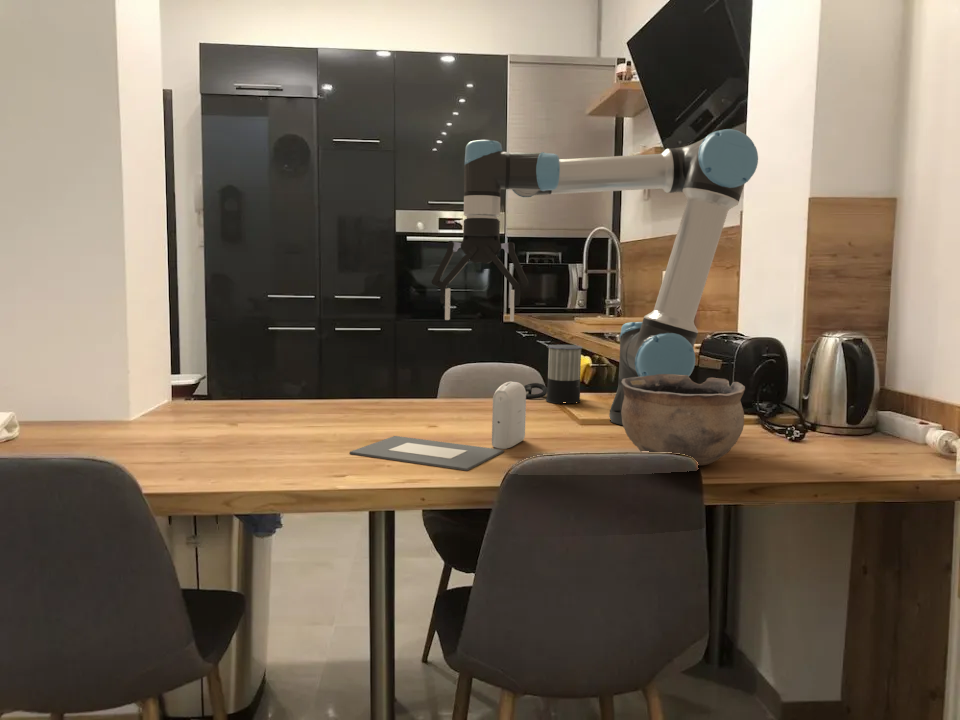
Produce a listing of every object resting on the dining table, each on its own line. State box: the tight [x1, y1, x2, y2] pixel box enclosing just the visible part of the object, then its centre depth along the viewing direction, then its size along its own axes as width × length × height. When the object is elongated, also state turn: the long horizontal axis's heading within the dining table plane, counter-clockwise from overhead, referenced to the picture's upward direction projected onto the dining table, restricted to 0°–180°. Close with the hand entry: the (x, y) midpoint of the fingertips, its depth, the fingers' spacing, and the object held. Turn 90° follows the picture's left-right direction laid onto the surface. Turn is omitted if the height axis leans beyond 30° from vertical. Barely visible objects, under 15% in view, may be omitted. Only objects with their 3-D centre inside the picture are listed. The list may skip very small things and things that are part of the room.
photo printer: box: [491, 381, 527, 450], centre depth 154 cm, size 10×4×12 cm, turn 157°
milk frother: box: [523, 344, 583, 405], centre depth 208 cm, size 14×16×15 cm
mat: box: [349, 435, 505, 471], centre depth 146 cm, size 24×16×1 cm, turn 65°
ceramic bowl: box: [621, 374, 746, 466], centre depth 142 cm, size 22×22×15 cm
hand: (479, 320), depth 164 cm, fingers open, 13 cm apart
